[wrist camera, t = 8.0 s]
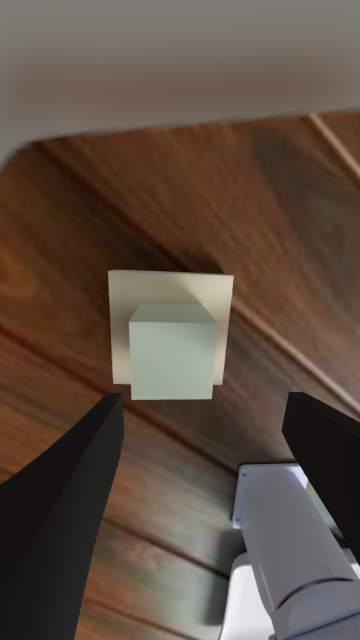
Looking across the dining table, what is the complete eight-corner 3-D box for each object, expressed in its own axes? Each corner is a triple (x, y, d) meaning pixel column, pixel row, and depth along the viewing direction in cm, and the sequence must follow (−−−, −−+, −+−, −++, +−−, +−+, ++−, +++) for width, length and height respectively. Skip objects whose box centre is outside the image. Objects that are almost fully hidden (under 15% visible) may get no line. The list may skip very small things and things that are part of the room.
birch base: (214, 367, 21) (222, 384, 18) (121, 366, 20) (113, 383, 17) (223, 273, 18) (233, 275, 15) (117, 269, 18) (108, 270, 15)
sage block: (199, 360, 17) (211, 399, 12) (141, 360, 17) (131, 399, 12) (202, 304, 16) (217, 323, 11) (140, 303, 16) (129, 321, 11)
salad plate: (225, 533, 27) (233, 571, 24) (379, 529, 29) (407, 564, 25) (208, 627, 33) (213, 668, 30) (338, 620, 34) (356, 658, 31)
